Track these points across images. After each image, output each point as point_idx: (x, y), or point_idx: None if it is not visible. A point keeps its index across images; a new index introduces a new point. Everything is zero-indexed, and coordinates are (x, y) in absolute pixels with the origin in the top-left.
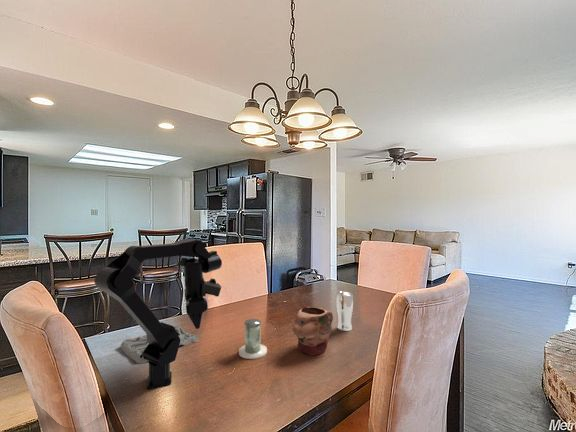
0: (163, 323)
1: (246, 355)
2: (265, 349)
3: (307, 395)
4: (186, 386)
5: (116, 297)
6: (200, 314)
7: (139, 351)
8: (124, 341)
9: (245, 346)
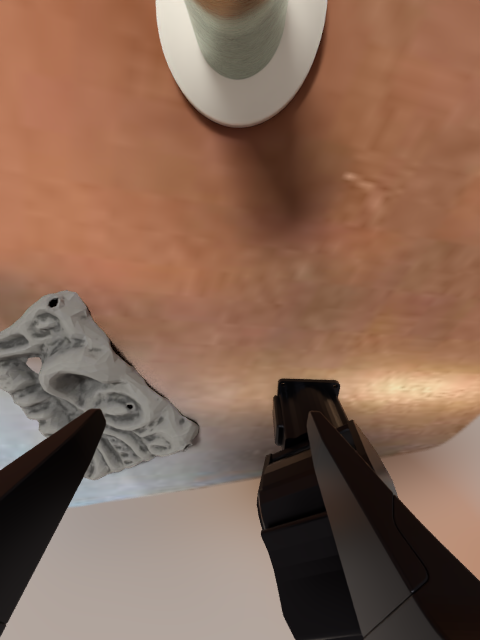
0: (327, 637)
1: (290, 82)
2: None
3: None
4: (369, 347)
5: None
6: (472, 601)
7: (159, 451)
8: (95, 478)
9: (244, 57)
